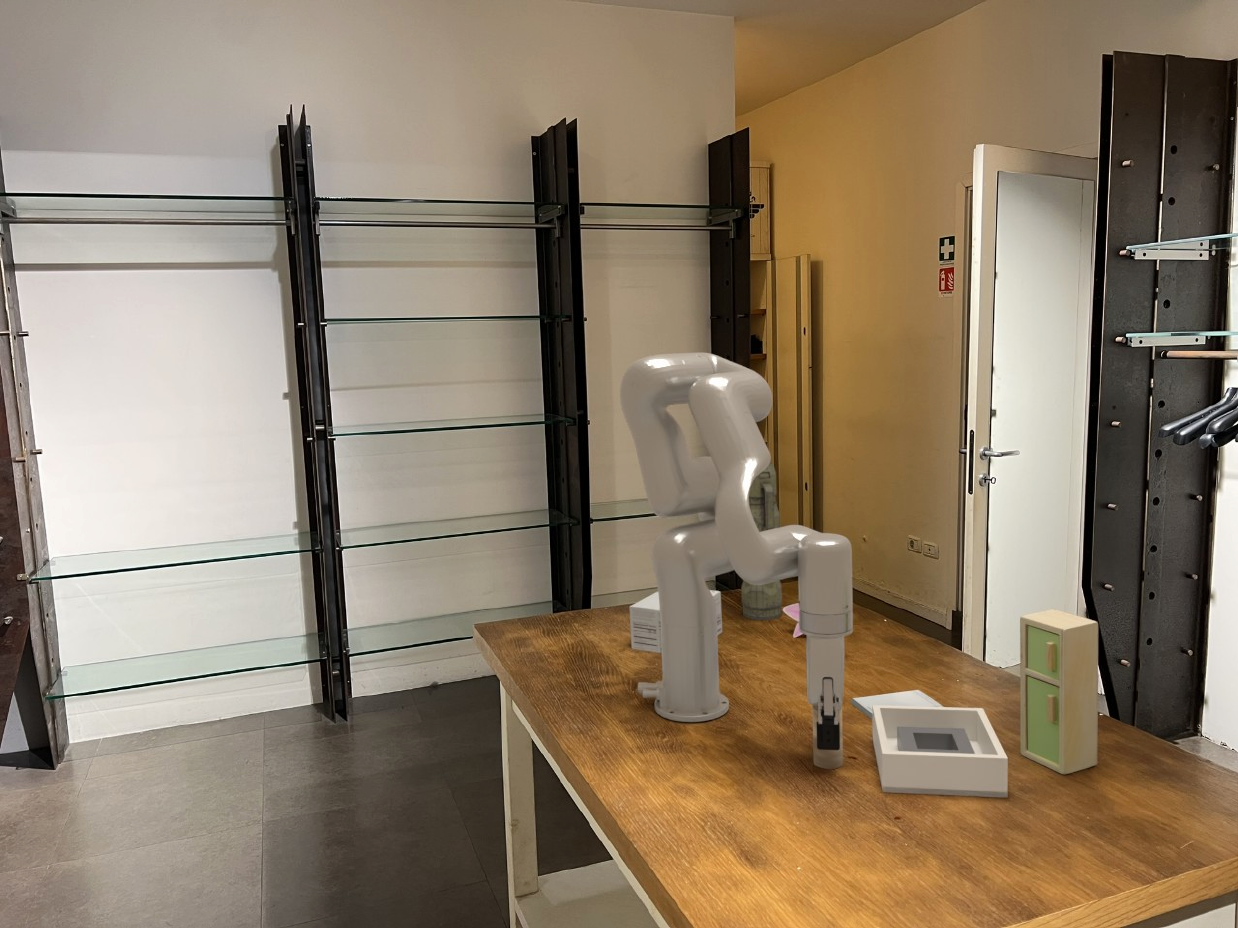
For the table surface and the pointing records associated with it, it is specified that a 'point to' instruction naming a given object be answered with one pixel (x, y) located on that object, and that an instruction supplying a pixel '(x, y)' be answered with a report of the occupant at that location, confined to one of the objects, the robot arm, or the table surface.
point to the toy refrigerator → (1059, 690)
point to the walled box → (938, 751)
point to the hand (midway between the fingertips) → (827, 740)
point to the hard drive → (894, 701)
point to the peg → (827, 757)
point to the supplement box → (656, 622)
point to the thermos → (763, 507)
